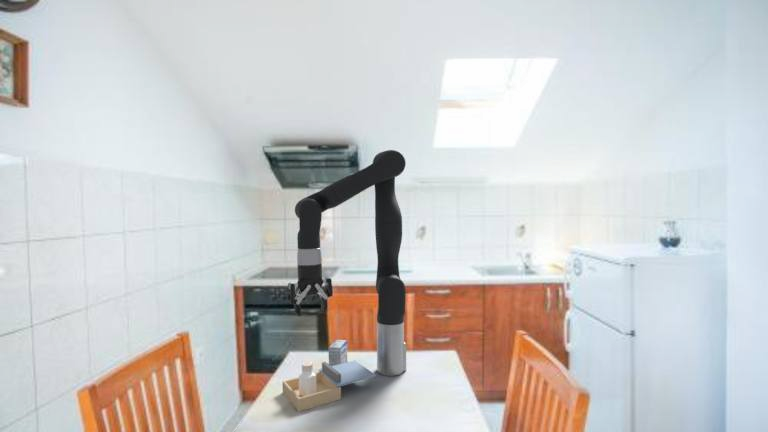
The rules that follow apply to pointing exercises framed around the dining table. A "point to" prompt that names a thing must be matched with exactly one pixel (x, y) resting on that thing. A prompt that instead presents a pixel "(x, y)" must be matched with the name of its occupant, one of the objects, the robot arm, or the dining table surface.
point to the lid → (345, 373)
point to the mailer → (322, 396)
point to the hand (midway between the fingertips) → (311, 313)
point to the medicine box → (338, 353)
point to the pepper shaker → (307, 380)
